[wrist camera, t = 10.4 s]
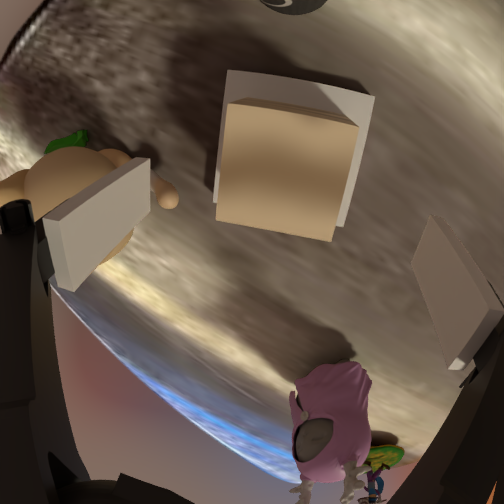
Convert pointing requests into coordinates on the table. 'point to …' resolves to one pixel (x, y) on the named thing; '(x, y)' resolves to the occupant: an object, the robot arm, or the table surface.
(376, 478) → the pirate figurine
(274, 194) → the maple brick
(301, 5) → the coffee cup
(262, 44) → the table surface
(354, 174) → the grey tile
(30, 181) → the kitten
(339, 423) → the toy character
